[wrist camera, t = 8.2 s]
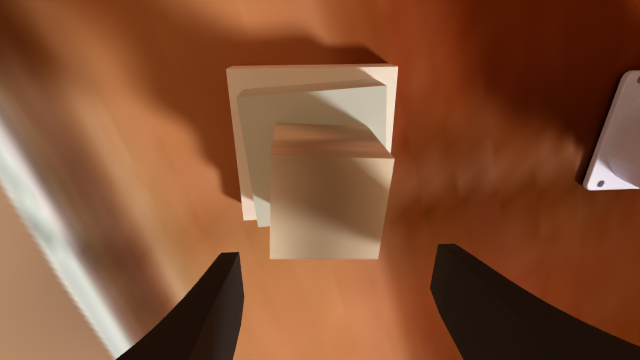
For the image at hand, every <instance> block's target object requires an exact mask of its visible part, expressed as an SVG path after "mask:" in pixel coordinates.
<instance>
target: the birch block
mask: <svg viewBox="0 0 640 360" xmlns="http://www.w3.org/2000/svg"><path fill="white" fill-rule="evenodd" d="M394 160H395V159H394V158H393V156H392V155H391V154H390V153H389V151H388V150H387V149H386V148H385V147H384V145H383V144H382V143H381V142H380V141H379V139H378V138H377V137H376V136H375V135H374V133H373V132H372V131H371V130H370V128H369V127H364V126H341V125H318V124H295V123H275V128H274V135H273V141H272V147H271V154H270V259H378V255H379V249H380V243H381V237H382V231H383V225H384V219H385V213H386V207H387V201H388V195H389V189H390V183H391V178H392V172H393V166H394Z"/></svg>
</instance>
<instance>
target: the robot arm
mask: <svg viewBox="0 0 640 360" xmlns="http://www.w3.org/2000/svg"><path fill="white" fill-rule="evenodd" d="M639 77H640V70H632V71H628V72H626V73H625V74H624V75H623V76H622V78H621V80H620V83H619V86H618V89H617V91H616V94H615V97H614V99H613V102H612V105H611V108H610V110H609V113H608V116H607V119H606V121H605V124H604V127H603V129H602V132H601V135H600V138H599V140H598V143H597V146H596V149H595V151H594V154H593V157H592V160H591V162H590V165H589V168H588V170H587V173H586V176H585V179H584V181H583V187H585V188H586V189H588V190H611V189H639V188H640V78H639ZM638 78H639V80H638ZM637 80H638V81H637ZM598 182H599V183H598ZM597 183H598V184H597ZM430 289H431V292H432V295H433V298H434V300H435V303H436V306H437V308H438V311H439V313H440V315H441V317H442V319H443V321H444V323H445V325H446V327H447V329H448V331H449V333H450V335H451V337H452V339H453V340H454V342H455V344H456V346H457V348H458V350H459V352H460V354H461V356H462V357H463V359H464V360H640V346H637V345H635V344H632V343H630V342H627V341H625V340H623V339H620V338H618V337H616V336H613V335H611V334H609V333H607V332H605V331H602V330H600V329H598V328H596V327H594V326H591V325H589V324H587V323H585V322H583V321H581V320H579V319H577V318H575V317H573V316H571V315H569V314H567V313H565V312H563V311H562V310H560V309H558V308H556V307H554V306H552V305H550V304H548V303H547V302H545V301H543V300H541V299H540V298H538V297H536V296H535V295H533V294H531V293H530V292H528V291H526V290H525V289H523V288H521V287H520V286H518V285H516V284H515V283H513V282H512V281H510V280H509V279H507V278H506V277H504V276H502V275H501V274H499V273H498V272H496V271H495V270H493V269H492V268H491V267H489V266H488V265H486V264H485V263H483V262H482V261H480V260H479V259H477V258H476V257H474V256H473V255H471V254H470V253H468V252H467V251H465V250H464V249H462V248H461V247H459V246H457V245H456V244H438V249H437V254H436V259H435V264H434V270H433V275H432V280H431V286H430ZM243 303H244V291H243V282H242V274H241V265H240V256H239V252H230V253H221V254H220V255H219V256H218V257H217V258H216V259H215V261H214V262H213V263H212V265H211V266H210V267H209V268H208V270H207V271H206V272H205V273H204V275H203V276H202V277H201V278H200V279H199V281H198V282H197V283H196V284H195V285H194V286H193V287H192V289H191V290H190V291H189V292H188V293H187V294H186V296H185V297H184V298H183V299H182V300H181V301H180V302H179V303H178V304H177V305H176V306H175V307H174V308H173V309H172V310H171V311H170V312H169V313H168V314H167V315H166V316H165V317H164V318H163V319H162V320H161V321H160V322H159V323H158V324H157V325H156V326H155V327H154V328H153V329H152V330H151V331H150V332H149V333H147V334H146V335H145V336H144V337H143V338H142V339H141V340H140V341H138V342H137V343H136V344H135V345H134V346H132V347H131V348H130V349H128V350H127V351H126V352H125V353H123V354H122V355H121V356H120V357H118V358H117V359H116V360H233V356H234V352H235V348H236V344H237V339H238V335H239V331H240V326H241V320H242V312H243Z"/></svg>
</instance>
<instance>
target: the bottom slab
mask: <svg viewBox="0 0 640 360" xmlns="http://www.w3.org/2000/svg"><path fill="white" fill-rule="evenodd" d="M397 73H398V66H395V65H392V64H325V65H254V66H231V67H229V68H227V69H226V74H227V83H228V91H229V100H230V108H231V116H232V125H233V133H234V142H235V150H236V158H237V167H238V175H239V184H240V192H241V200H242V209H243V217H244V220H257V217H256V211H255V205H254V199H253V194H252V188H251V182H250V176H249V170H248V164H247V158H246V153H245V147H244V141H243V135H242V129H241V123H240V117H239V111H238V106H237V100H236V97H237V96H238V95H239V94H240V93H241V91H242V90H243V89H251V88H263V87H275V86H288V85H300V84H313V83H325V82H338V81H350V80H363V79H376V80H378V81H380V82H382V83H383V84H385V85H387V106H386V149H387V150H388V151H389V153H390V154H391V142H392V131H393V119H394V108H395V96H396V85H397Z"/></svg>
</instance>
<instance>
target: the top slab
mask: <svg viewBox="0 0 640 360" xmlns="http://www.w3.org/2000/svg"><path fill="white" fill-rule="evenodd" d="M236 100H237V106H238V111H239V117H240V123H241V129H242V135H243V141H244V147H245V153H246V158H247V164H248V170H249V176H250V182H251V188H252V194H253V199H254V205H255V211H256V217H257V223H258V227H266V226H270V154H271V147H272V141H273V135H274V128H275V123H295V124H318V125H341V126H364V127H369V128H370V130H371V131H372V132H373V133H374V135H375V136H376V137H377V138H378V139H379V141H380V142H381V143H382V144H383V145H384V147H385V148H386V106H387V85H385V84H383V83H382V82H380V81H378V80H376V79H363V80H350V81H338V82H325V83H313V84H300V85H288V86H275V87H263V88H251V89H243V90H242V91H241V93H240V94H239V95H238V96H237V97H236Z"/></svg>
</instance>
